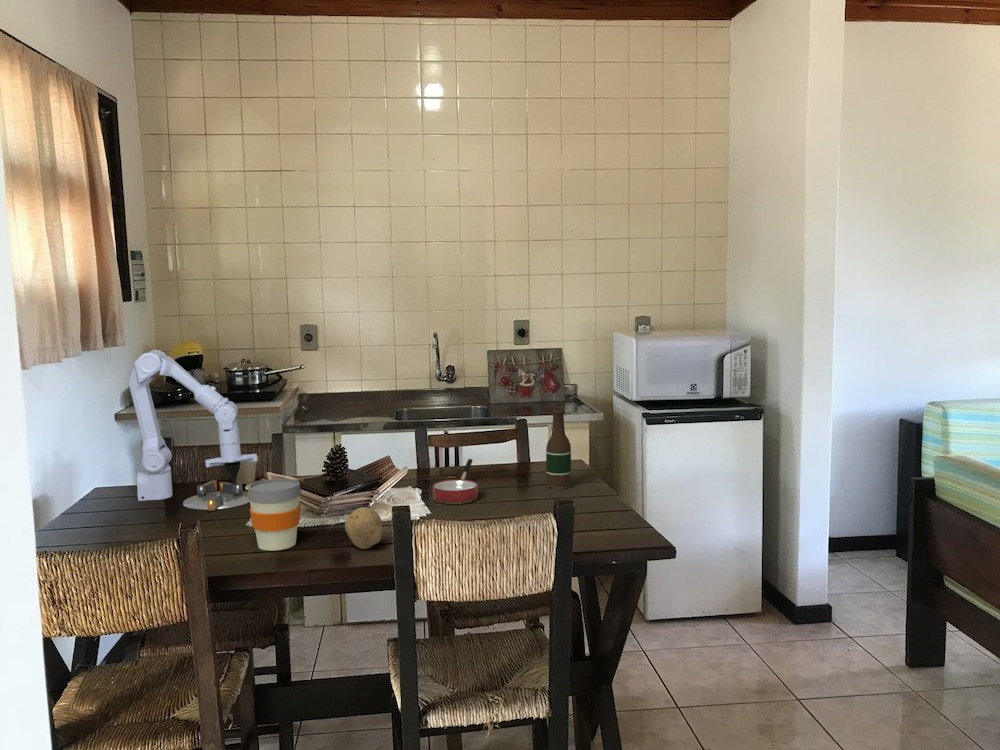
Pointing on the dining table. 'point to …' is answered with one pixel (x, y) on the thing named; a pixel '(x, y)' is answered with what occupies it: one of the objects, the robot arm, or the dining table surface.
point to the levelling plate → (229, 501)
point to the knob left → (206, 488)
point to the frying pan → (456, 488)
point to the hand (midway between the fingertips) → (234, 487)
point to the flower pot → (246, 472)
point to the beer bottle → (558, 453)
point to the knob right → (231, 488)
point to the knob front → (215, 501)
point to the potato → (364, 527)
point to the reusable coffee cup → (275, 512)
